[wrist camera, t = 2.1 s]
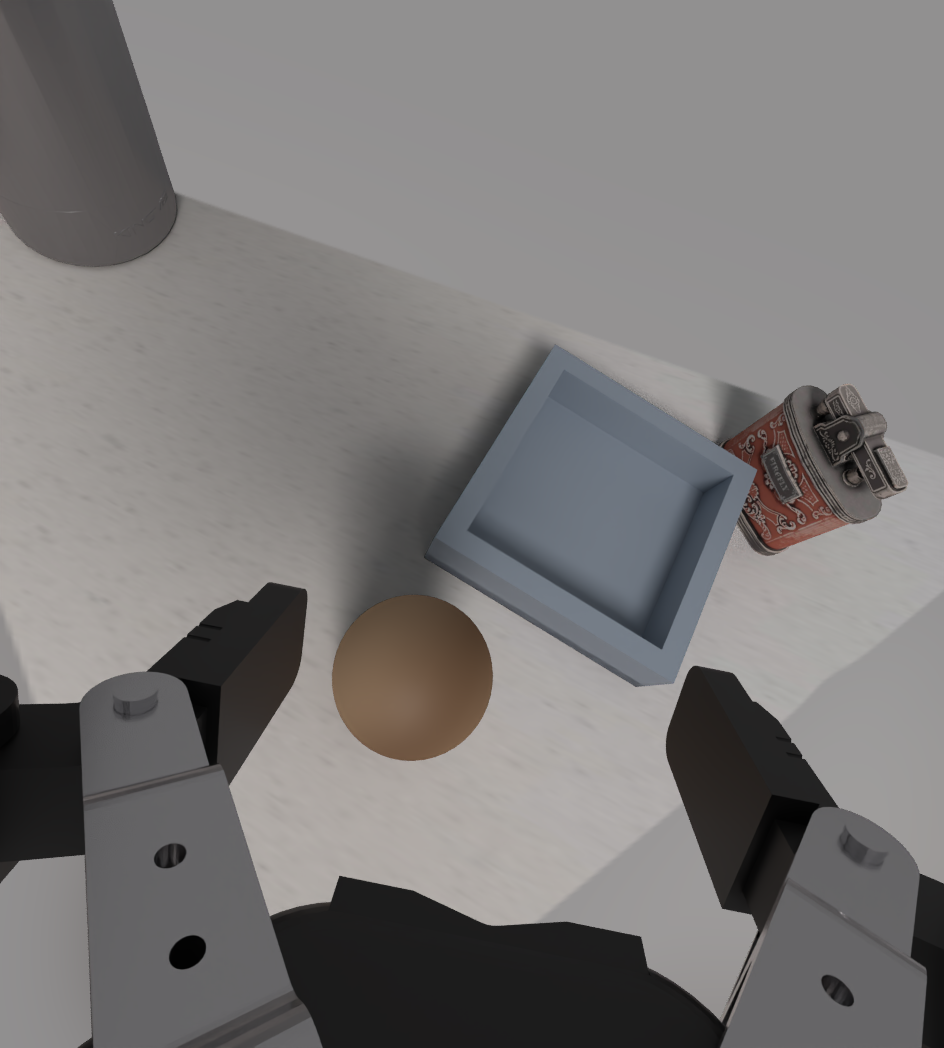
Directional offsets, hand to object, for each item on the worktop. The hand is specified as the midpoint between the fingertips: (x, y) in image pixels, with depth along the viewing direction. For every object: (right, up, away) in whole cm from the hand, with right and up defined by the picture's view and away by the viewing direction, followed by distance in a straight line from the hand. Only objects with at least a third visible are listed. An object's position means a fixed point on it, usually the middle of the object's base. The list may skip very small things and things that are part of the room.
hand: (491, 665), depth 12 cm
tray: (+6, +3, +23) cm, 24 cm away
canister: (-5, -6, +18) cm, 19 cm away
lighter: (+18, +5, +26) cm, 32 cm away
